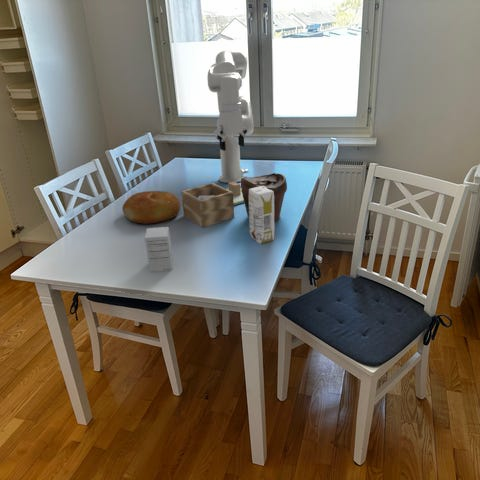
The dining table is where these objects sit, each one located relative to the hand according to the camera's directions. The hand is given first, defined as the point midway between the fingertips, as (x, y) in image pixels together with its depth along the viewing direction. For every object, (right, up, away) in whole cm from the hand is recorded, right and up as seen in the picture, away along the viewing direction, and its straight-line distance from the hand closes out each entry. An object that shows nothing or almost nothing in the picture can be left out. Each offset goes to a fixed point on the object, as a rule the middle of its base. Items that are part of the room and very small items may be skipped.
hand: (232, 147), depth 191 cm
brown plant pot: (+13, -31, -11) cm, 35 cm away
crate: (-9, -30, -9) cm, 33 cm away
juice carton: (+11, -39, -29) cm, 50 cm away
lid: (+1, -20, +10) cm, 22 cm away
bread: (-33, -30, -5) cm, 45 cm away
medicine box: (-9, -30, -9) cm, 33 cm away
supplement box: (-23, -49, -44) cm, 69 cm away
